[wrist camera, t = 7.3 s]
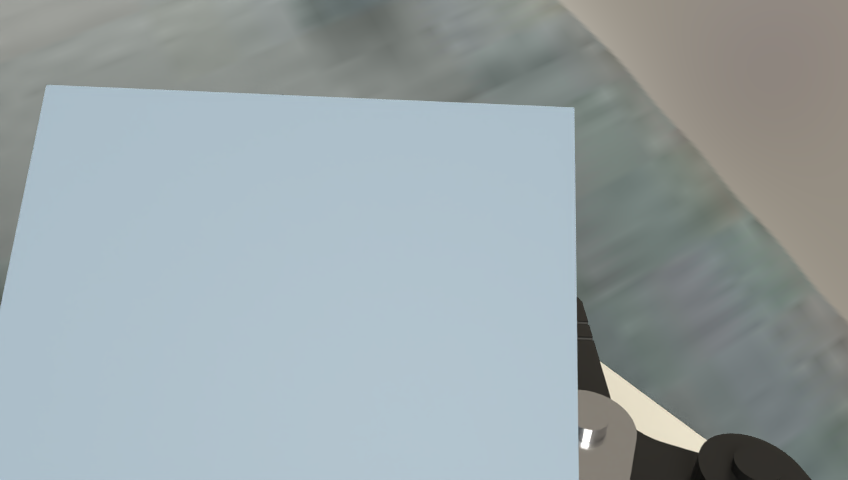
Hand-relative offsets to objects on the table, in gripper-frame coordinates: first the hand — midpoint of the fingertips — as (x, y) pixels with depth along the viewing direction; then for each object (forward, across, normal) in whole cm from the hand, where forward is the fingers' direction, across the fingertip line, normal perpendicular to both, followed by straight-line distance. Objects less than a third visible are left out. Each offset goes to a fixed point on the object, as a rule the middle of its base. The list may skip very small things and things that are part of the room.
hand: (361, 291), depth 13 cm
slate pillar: (+2, 0, +5) cm, 6 cm away
